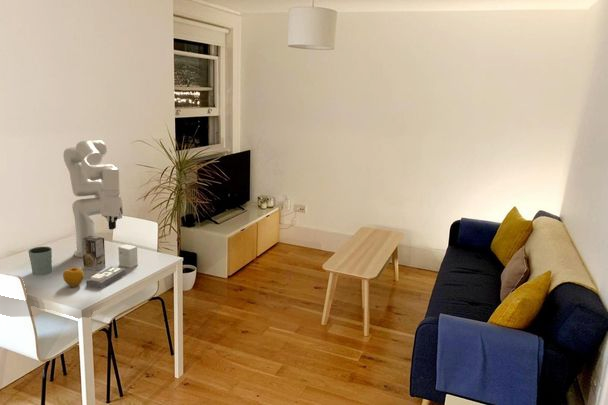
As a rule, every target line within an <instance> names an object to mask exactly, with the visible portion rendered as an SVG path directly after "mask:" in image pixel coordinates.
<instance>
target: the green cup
mask: <svg viewBox="0 0 608 405" xmlns="http://www.w3.org/2000/svg"><path fill="white" fill-rule="evenodd" d="M52 250H53V249H52V247H50V246H37V247H33V248H30V249H28V251H27V252H28V257H29V260H30V261H29V262H30V266H31V272H32V275H34V276H45V275H46V276H47V275H49V274H51V273H52V271H53V265H52V263H53V260H52V256H53V255H52V254H53V253H52V252H53V251H52Z"/></svg>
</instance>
